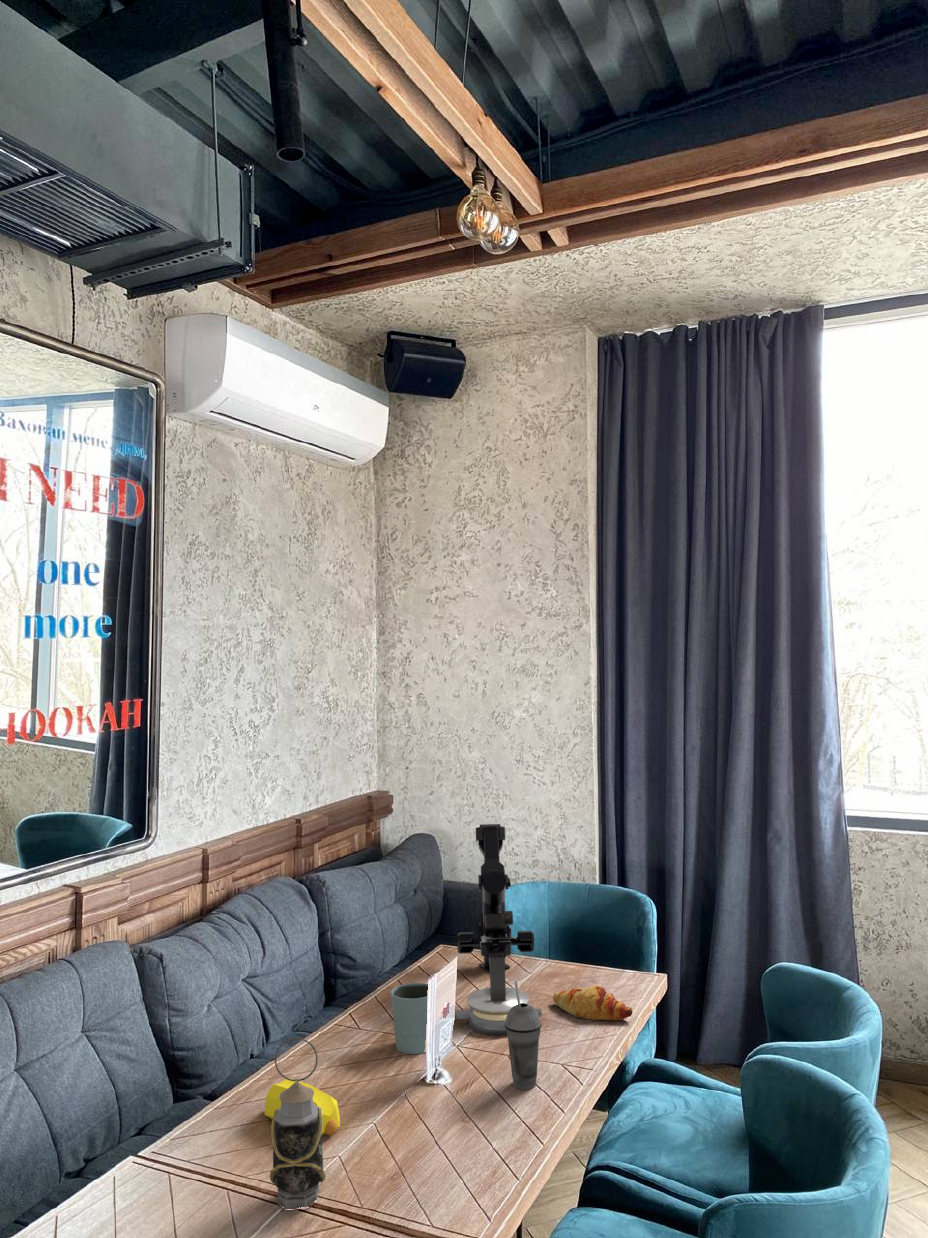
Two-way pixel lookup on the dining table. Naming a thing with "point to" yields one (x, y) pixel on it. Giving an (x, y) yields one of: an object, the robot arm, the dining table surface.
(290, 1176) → the lantern
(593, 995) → the croissant
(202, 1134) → the dining table surface
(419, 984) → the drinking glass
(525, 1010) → the beverage cup
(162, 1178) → the dining table surface
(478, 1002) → the disc with square post
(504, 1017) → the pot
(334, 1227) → the dining table surface
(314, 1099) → the yellow rounded lump
